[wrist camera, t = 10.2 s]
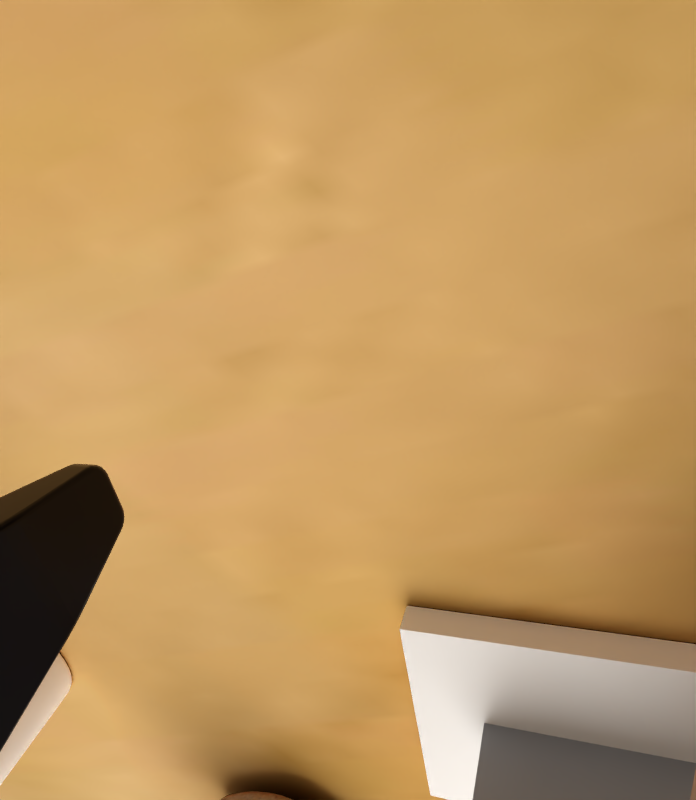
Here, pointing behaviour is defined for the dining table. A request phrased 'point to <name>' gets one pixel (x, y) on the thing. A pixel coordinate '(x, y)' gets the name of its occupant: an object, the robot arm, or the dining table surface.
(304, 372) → the dining table surface
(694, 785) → the walnut bar
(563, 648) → the ridge
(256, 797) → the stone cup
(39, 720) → the bottle
